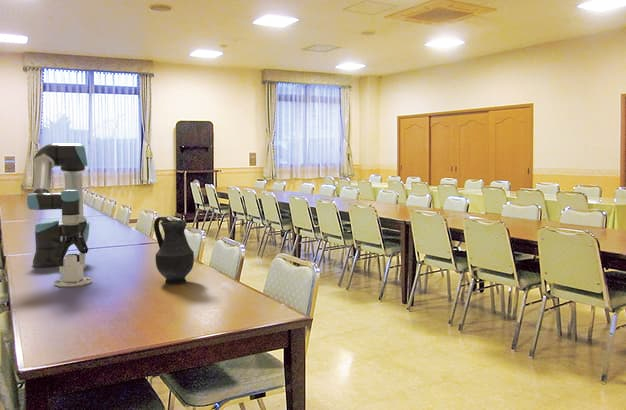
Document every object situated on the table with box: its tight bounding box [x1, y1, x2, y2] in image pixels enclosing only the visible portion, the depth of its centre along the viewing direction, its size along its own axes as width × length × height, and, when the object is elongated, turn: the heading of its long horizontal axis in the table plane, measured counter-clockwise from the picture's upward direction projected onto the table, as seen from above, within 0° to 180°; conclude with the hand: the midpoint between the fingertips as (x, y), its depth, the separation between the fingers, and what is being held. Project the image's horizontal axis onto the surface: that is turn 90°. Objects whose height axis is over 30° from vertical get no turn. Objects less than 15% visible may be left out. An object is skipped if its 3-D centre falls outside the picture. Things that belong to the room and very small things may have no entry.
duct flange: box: [53, 276, 93, 288], centre depth 265 cm, size 16×16×2 cm
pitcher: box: [153, 216, 195, 285], centre depth 267 cm, size 17×21×30 cm
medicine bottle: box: [61, 253, 84, 282], centre depth 264 cm, size 7×7×12 cm
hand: (72, 270), depth 265 cm, fingers open, 13 cm apart
